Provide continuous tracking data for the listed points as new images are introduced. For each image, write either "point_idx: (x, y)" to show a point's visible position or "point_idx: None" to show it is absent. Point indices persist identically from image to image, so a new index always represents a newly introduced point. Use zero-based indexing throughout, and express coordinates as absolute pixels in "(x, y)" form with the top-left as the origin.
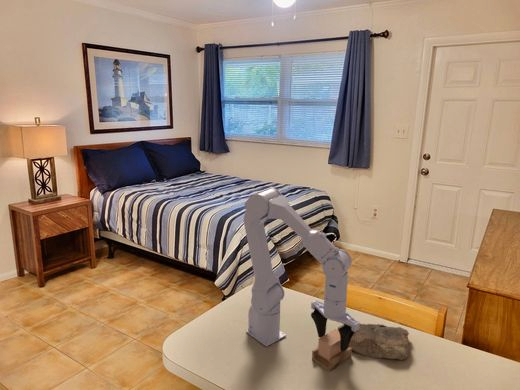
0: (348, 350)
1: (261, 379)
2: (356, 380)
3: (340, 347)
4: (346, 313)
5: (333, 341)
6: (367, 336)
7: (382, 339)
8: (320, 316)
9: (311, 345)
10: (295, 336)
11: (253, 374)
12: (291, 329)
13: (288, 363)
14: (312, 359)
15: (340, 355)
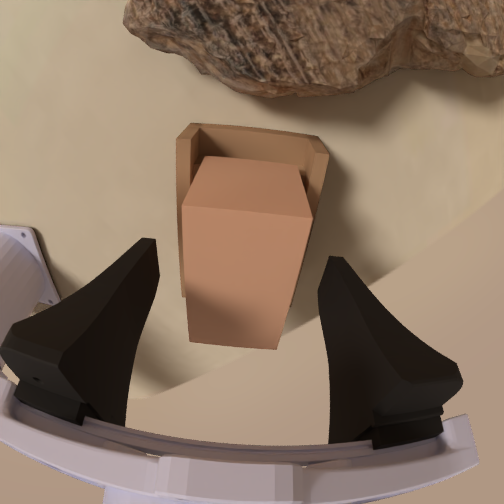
0: (321, 184)
1: (168, 375)
2: (389, 251)
3: (320, 312)
4: (351, 499)
5: (267, 320)
6: (380, 8)
7: (467, 6)
8: (112, 411)
9: (119, 197)
10: (44, 200)
11: (144, 372)
12: (8, 179)
13: (156, 318)
14: None
15: (306, 249)
